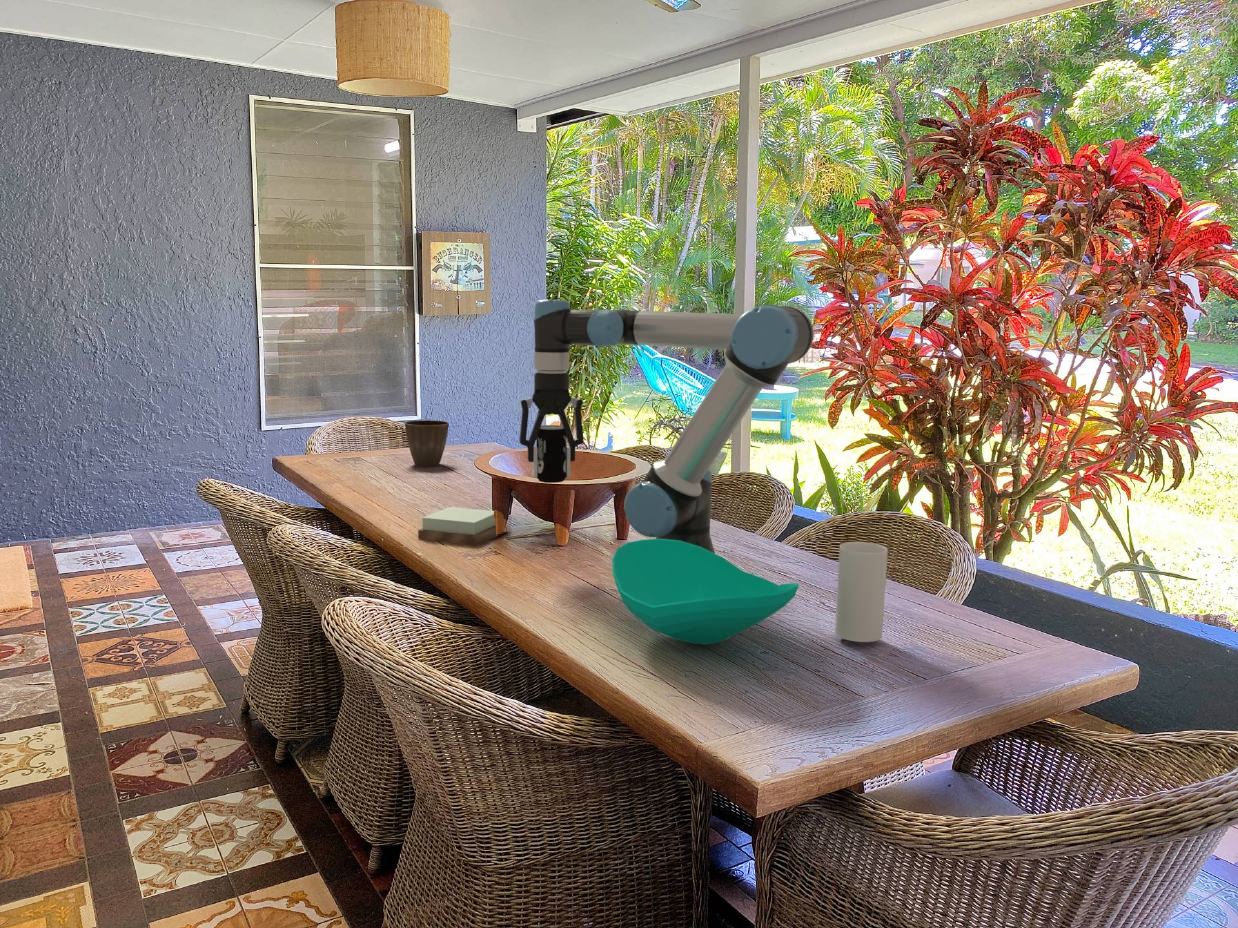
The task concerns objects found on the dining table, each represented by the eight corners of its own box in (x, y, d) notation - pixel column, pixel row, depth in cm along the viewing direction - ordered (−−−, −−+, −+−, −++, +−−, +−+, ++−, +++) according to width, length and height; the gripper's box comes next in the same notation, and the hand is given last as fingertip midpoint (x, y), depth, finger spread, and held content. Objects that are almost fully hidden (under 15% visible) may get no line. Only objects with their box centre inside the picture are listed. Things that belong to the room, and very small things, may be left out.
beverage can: (561, 483, 212) (562, 429, 210) (532, 482, 214) (532, 427, 212) (569, 478, 219) (569, 425, 217) (541, 477, 220) (541, 424, 218)
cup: (847, 623, 181) (852, 539, 178) (889, 633, 175) (895, 547, 173) (826, 634, 174) (831, 547, 172) (869, 645, 169) (875, 555, 167)
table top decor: (576, 616, 182) (577, 547, 179) (698, 596, 196) (700, 532, 194) (700, 690, 148) (703, 605, 146) (837, 659, 162) (841, 582, 160)
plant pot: (436, 463, 350) (435, 419, 347) (457, 469, 339) (456, 423, 336) (397, 467, 341) (397, 421, 338) (418, 473, 329) (417, 426, 327)
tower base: (506, 534, 248) (506, 522, 248) (477, 548, 233) (477, 536, 233) (450, 528, 253) (450, 517, 253) (418, 542, 238) (418, 530, 238)
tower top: (499, 523, 247) (499, 511, 247) (474, 534, 234) (474, 522, 234) (449, 518, 252) (449, 506, 251) (422, 529, 238) (422, 517, 238)
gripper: (593, 370, 218) (592, 472, 221) (505, 370, 214) (505, 474, 218) (598, 373, 210) (597, 478, 214) (507, 372, 207) (508, 480, 211)
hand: (551, 476), depth 216 cm, fingers closed on beverage can, 6 cm apart
